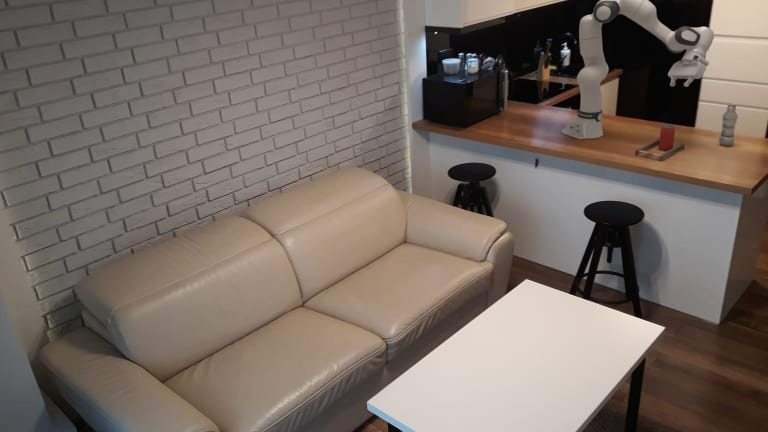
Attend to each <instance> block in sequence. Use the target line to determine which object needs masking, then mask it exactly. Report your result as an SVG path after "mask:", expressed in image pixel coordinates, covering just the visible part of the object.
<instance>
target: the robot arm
mask: <svg viewBox="0 0 768 432" xmlns="http://www.w3.org/2000/svg"><path fill="white" fill-rule="evenodd" d="M618 15H623V16H625V17H627V18H628V19H630V20H631V21H633V22H635V23H636V24H637V25H639V26H641V27H642V28H644V29H645V30H647V31H648V32H649V33H650V34H651V35H653V36H654V37H656V38H657V39H658V40H659V41H661V42H662V43H663V44H664V45H665V47H666V49H667V50H668V51H669V52H671V53H673V54H680V53H682V52H684V51H685V50H686V51H685V53H684V55H683V57H682V58H681V60H678V61H677V62H675V63H674V64H672V66H671V68H670V69H669V71H668V73H667V76H668V77H669V78H670V83H669V86H670V87H675V86H676V84H677V83H676V81H677V79H683V80H684V79H685V80H686V81H684V82H683V85H682V86H683V87H685V88H687V87H689V86H690V84H691V83H693V81H694V80H695V79H696V80H699V79H702V77H703V76H704V74H705V71H707V70H706V69H707V67H708V66H709V64H710V61H709V60H707V59H706V58H705V56H706V54H707V52H708V51H709V50H710V47H711V46H712V44H713V41H714V38H715V33H714V31H713V30H712V29H711V28H710V27H707V26H700V27H691V26H687V25H684V26H681V27H678V29H676V30H675V31H672V30H671V29H670V28H669V27H667V26H666V25H665V24H663V23H662V22H661V21H660V20H659V19H658V15H657V8H656V5H654V4H653V3H652V2H651V1H650V0H599V1H598V2H597V3H596V4H595V6H594V7H593V12H592V14H587V15H584V16H582V18H581V19H580V21H579V28H578V29H579V30H578V31H579V32H578V36H579V37H578V38H579V40H578V41H579V52H580V53H579V54H580V55H581V56H582V59H583V62H584V67H583V68H582V69H581V70H580V71H579V72H578V74H577V76H576V82H577V84H578V85H579V91H580V106H579V107H580V108H579V109H577V110H576V111H575V114H576V115H575V116H574V117H572V118H571V119H569V120H568V121H567V122H566V125H565V128H563V129H562V130H561V134H564V135H566V136H569V137H572V138H575V139H578V140H586V139H597V138H601V137H603V135H604V133H603V126H602V119H603V109H602V108H603V93H602V91H601V83H602V81H603V80H605V79H606V78H607V75H608V73H609V71H610V70H609V66H608V63H607V62H606V58H605V54H604V51H603V50H604V49H603V37H602V36H603V35H602V27H603V24H607V23H610V22H611V21H612V20H614V19H615V18H616V17H617V16H618Z"/></svg>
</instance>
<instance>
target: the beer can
mask: <svg viewBox="0 0 768 432" xmlns="http://www.w3.org/2000/svg"><path fill="white" fill-rule="evenodd" d="M659 134H660V135H659V139H660V140H659V145H658V149H659V150H661V151H666V152H667V151H669V150H671V149H673V148H674V143H675V136H676V135H675V134H676V129H675V125H673V124H670V123H669V124H666V123H665V124H663V125H661V128H660V133H659Z"/></svg>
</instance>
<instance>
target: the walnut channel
mask: <svg viewBox="0 0 768 432" xmlns="http://www.w3.org/2000/svg"><path fill="white" fill-rule="evenodd" d="M659 140H660V138H656V139H654V140H653V141H651V142H649V143H647V144H645V145H643V146H641V147H640V148H638V149H636V150H635V156H637V157H642V158H646V159H650V160H655V161H659V162H664V161H666V160H667V159H669V158H670V157H672V156H674V155H676V154H678V153H679V152H681V151H683V150H684V149H685V145H686V144H685V143H680V144H677V145H676V146H675V147H673V149H671V150H667V151H666V152H664V153H663V154H659V153H656V152H655V153H654V152H650V150H652V149H653V148H655V147H657V146H659Z"/></svg>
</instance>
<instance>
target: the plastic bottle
mask: <svg viewBox="0 0 768 432" xmlns="http://www.w3.org/2000/svg"><path fill="white" fill-rule="evenodd" d="M736 110H737V105H735V104H729V105H727V108H726V111H724V113H723V115H722V128H721V131H720V135H719V137H718V143H719V144H720V145H721V146H732V145H733V144H734V142H735V127H736V125H737V120H738V113H737V112H736Z"/></svg>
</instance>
